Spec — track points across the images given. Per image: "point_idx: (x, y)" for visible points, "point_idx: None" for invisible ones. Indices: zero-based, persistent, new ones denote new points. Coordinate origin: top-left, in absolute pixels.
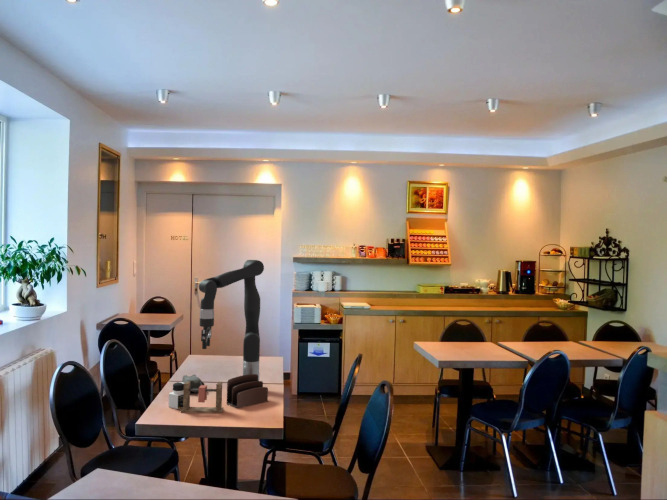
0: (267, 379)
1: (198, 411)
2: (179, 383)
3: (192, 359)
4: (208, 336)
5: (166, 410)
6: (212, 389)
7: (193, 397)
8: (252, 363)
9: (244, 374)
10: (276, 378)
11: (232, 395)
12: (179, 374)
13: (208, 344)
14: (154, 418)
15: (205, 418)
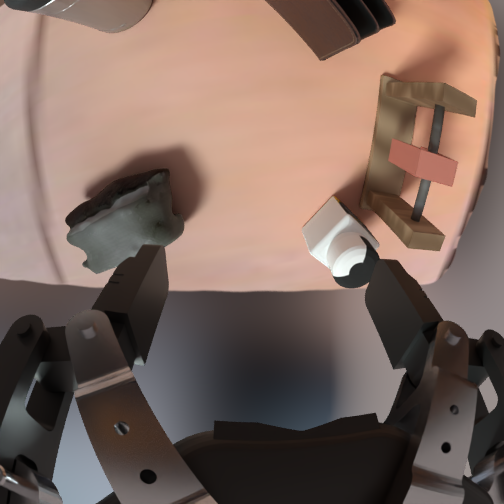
0: (12, 19)
1: None
2: (365, 269)
3: None
4: (448, 394)
5: None
6: (441, 125)
7: (222, 193)
8: None
9: (108, 1)
10: None
11: (366, 36)
12: (16, 279)
13: (158, 270)
14: (416, 265)
15: (448, 139)
